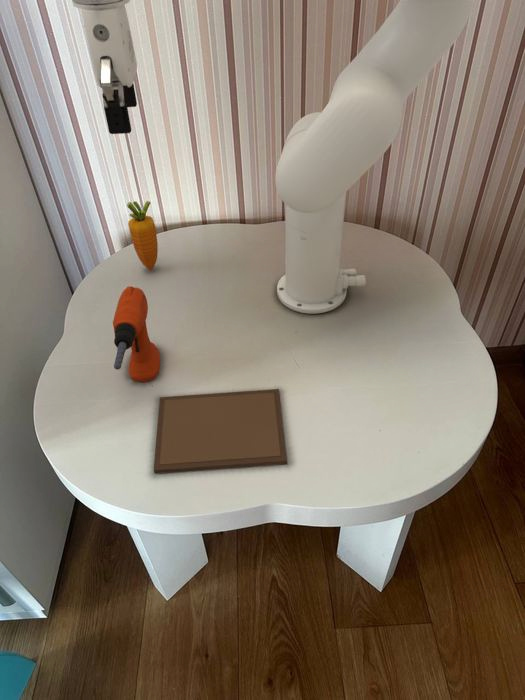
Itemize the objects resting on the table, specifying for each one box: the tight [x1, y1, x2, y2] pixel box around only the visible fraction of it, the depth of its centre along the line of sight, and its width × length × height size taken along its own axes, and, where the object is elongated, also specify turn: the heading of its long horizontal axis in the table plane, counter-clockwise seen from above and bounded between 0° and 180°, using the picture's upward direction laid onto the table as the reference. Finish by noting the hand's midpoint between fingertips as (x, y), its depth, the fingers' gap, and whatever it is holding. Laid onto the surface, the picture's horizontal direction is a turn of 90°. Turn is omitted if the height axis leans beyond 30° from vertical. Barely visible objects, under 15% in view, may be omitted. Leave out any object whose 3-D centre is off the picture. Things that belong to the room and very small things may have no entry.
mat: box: [153, 388, 288, 474], centre depth 81 cm, size 18×13×1 cm
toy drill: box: [112, 285, 161, 383], centre depth 82 cm, size 5×19×15 cm, turn 3°
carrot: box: [126, 200, 159, 271], centre depth 104 cm, size 5×5×15 cm
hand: (124, 119), depth 86 cm, fingers open, 9 cm apart
